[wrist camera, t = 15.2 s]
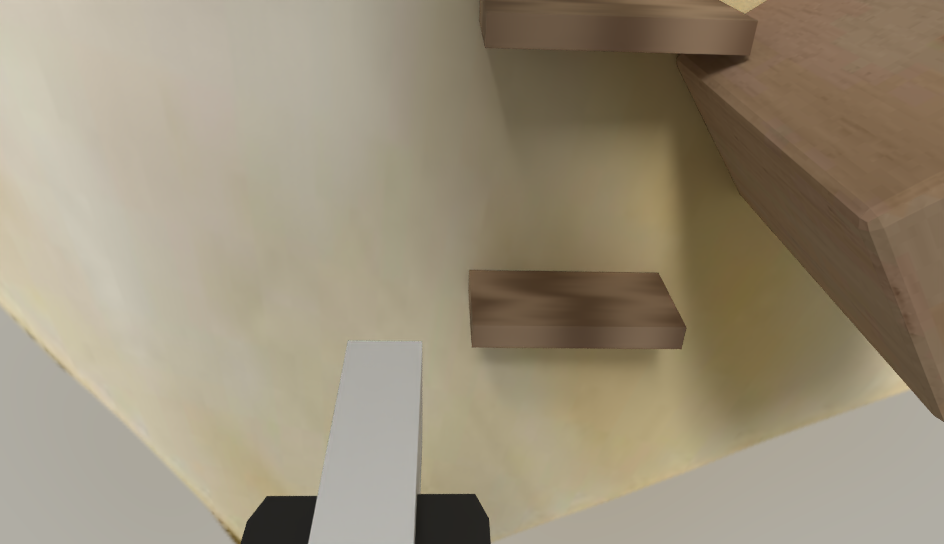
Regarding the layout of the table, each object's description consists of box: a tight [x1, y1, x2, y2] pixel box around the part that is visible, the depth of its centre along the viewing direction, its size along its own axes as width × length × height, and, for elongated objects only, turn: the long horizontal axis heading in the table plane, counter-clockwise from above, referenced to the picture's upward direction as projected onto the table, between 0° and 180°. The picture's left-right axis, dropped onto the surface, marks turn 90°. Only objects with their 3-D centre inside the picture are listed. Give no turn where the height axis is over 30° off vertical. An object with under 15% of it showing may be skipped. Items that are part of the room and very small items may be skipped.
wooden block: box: [677, 0, 944, 422], centre depth 30 cm, size 10×10×20 cm
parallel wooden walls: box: [468, 0, 758, 349], centre depth 38 cm, size 12×18×6 cm, turn 178°
